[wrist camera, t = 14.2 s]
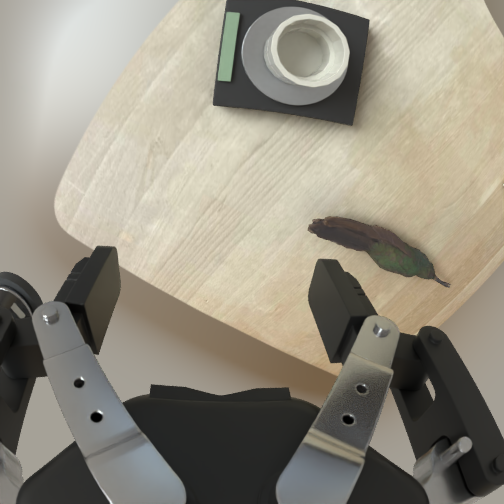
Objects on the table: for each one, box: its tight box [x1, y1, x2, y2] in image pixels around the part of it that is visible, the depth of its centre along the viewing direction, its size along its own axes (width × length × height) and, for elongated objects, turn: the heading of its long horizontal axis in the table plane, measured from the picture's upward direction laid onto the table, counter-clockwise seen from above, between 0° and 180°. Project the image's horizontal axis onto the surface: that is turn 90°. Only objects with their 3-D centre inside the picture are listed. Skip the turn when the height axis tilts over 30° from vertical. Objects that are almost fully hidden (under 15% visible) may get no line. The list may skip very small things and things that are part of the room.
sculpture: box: [308, 216, 451, 288], centre depth 38 cm, size 5×29×5 cm, turn 64°
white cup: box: [264, 14, 350, 87], centre depth 22 cm, size 6×6×5 cm
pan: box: [241, 7, 348, 105], centre depth 24 cm, size 10×10×1 cm
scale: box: [213, 0, 370, 126], centre depth 25 cm, size 14×12×3 cm
